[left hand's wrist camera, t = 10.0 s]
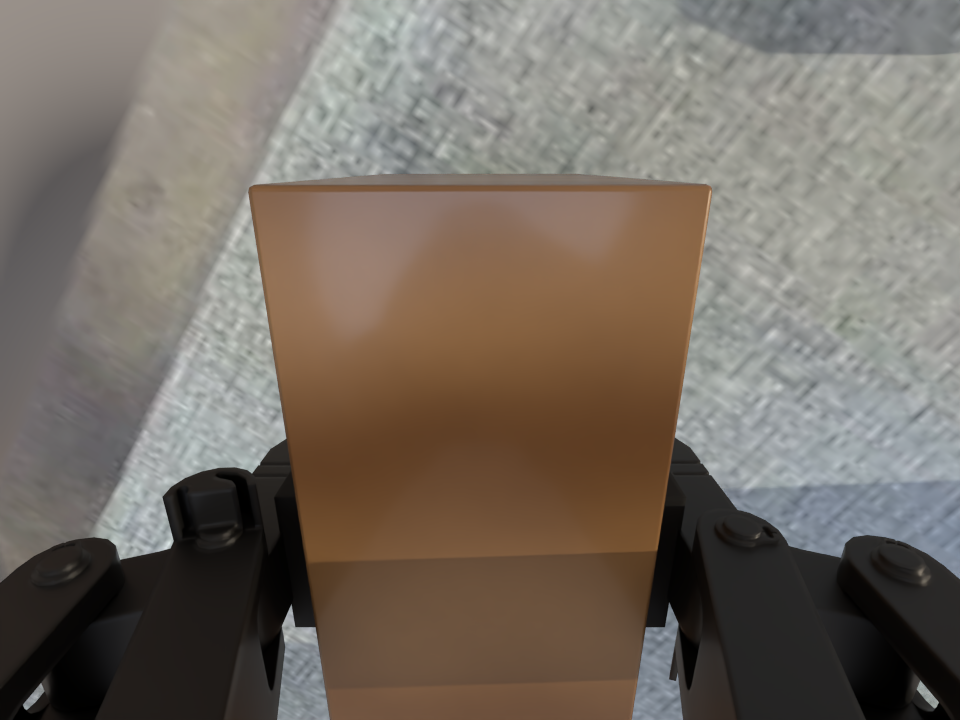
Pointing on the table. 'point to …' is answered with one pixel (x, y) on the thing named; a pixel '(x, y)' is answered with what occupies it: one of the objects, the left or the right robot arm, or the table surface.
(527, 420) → the post
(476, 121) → the table surface
